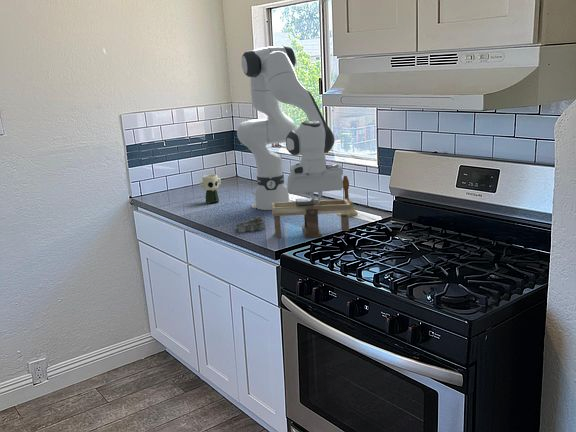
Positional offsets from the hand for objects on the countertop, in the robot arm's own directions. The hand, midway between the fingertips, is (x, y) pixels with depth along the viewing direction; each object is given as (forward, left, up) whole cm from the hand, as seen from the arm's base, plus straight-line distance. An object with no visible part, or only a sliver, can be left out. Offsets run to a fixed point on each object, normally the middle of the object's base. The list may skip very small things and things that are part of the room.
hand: (316, 203), depth 214 cm
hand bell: (-23, +15, -11) cm, 30 cm away
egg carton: (-12, -25, -11) cm, 30 cm away
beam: (0, -2, -2) cm, 3 cm away
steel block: (0, -4, -2) cm, 5 cm away
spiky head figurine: (-65, -43, -11) cm, 79 cm away
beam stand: (0, -2, -11) cm, 11 cm away
